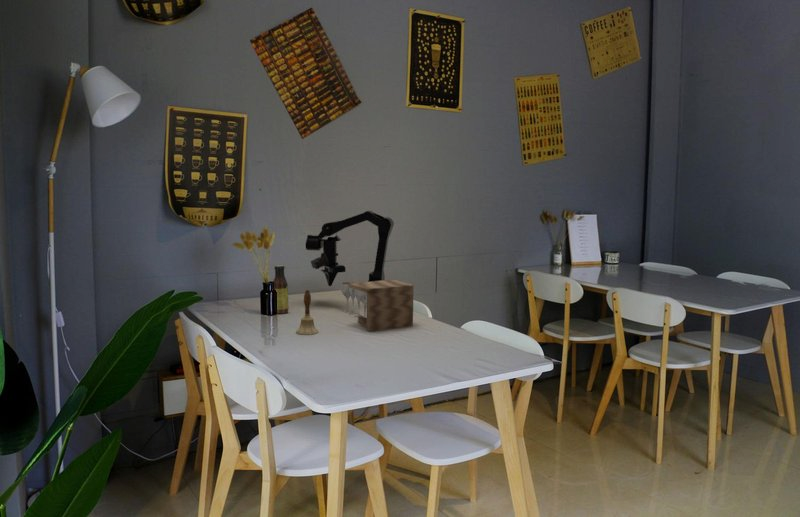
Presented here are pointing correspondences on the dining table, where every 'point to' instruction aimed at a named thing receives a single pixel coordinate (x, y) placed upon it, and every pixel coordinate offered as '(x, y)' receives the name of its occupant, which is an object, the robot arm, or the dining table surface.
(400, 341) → the dining table surface
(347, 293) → the goblet set
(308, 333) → the hand bell
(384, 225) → the robot arm
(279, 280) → the sauce bottle
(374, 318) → the walnut cubby
